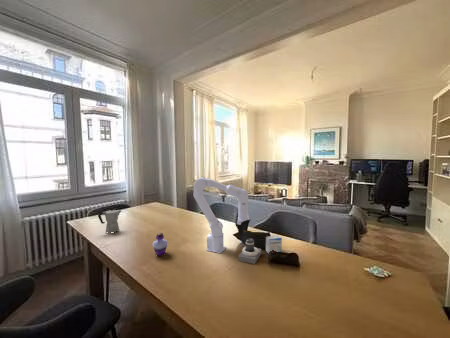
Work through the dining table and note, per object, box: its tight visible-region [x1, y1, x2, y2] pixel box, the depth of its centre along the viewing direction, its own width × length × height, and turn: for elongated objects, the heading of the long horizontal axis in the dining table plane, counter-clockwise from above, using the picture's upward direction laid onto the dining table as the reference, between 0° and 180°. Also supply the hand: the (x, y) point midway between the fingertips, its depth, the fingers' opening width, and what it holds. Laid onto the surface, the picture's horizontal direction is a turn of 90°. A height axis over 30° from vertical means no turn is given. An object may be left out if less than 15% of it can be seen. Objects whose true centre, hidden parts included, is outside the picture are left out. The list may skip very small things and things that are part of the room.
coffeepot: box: [97, 207, 122, 233], centre depth 154 cm, size 15×9×18 cm, turn 129°
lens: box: [245, 237, 255, 252], centre depth 114 cm, size 4×4×7 cm
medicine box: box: [265, 235, 283, 254], centre depth 120 cm, size 8×4×9 cm, turn 105°
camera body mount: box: [237, 246, 262, 265], centre depth 114 cm, size 9×13×4 cm
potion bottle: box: [151, 232, 169, 257], centre depth 118 cm, size 9×9×12 cm
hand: (243, 233), depth 123 cm, fingers open, 7 cm apart
